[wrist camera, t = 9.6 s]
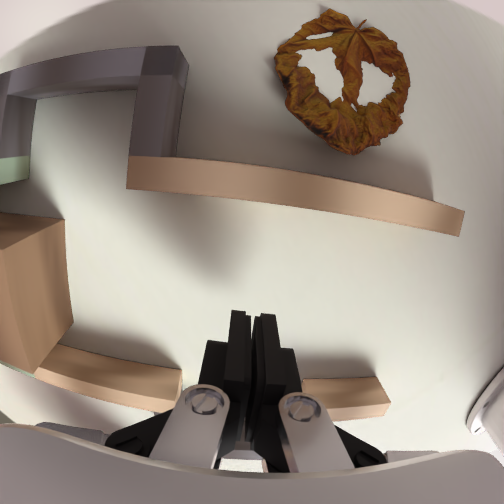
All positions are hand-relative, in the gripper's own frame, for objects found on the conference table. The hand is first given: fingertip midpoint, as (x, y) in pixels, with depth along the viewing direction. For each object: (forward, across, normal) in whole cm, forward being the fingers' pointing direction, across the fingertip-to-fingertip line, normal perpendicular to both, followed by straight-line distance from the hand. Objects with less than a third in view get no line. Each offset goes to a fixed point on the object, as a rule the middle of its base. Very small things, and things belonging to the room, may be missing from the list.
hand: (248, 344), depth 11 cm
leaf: (+4, -3, -11) cm, 12 cm away
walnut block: (+3, +13, 0) cm, 13 cm away
